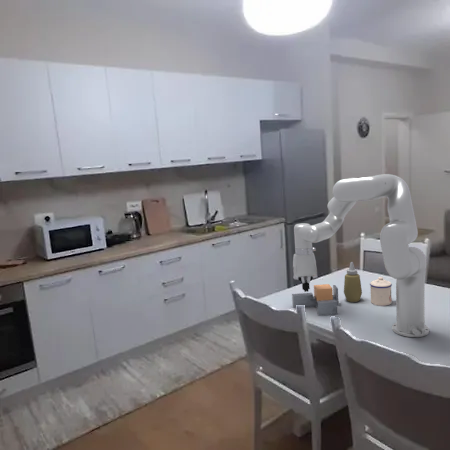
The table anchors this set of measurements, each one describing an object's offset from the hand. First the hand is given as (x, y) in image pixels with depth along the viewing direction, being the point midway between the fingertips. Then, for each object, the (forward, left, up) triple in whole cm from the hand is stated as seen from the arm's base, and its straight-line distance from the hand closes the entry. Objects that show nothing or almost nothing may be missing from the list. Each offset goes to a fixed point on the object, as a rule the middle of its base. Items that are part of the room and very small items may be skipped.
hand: (306, 290), depth 187 cm
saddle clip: (+1, -8, -6) cm, 10 cm away
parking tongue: (-11, -7, -7) cm, 15 cm away
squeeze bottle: (+3, -22, -7) cm, 23 cm away
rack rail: (+2, -4, -7) cm, 8 cm away
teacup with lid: (-1, -33, -7) cm, 34 cm away
